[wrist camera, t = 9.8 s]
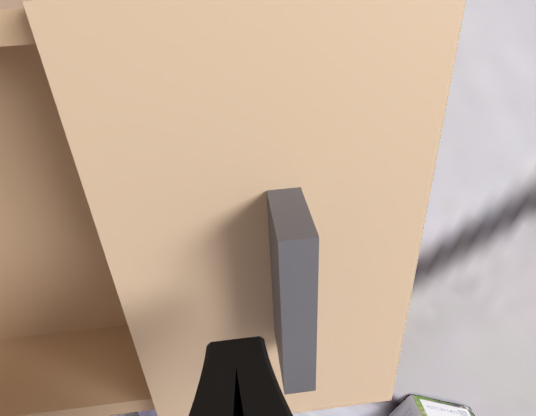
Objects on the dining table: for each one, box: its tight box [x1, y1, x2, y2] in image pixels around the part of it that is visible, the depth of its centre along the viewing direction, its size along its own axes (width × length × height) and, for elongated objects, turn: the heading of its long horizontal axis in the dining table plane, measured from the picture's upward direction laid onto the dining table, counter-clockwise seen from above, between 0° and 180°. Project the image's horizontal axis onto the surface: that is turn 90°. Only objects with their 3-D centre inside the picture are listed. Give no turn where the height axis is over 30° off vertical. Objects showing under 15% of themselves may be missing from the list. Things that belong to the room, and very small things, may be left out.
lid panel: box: [22, 0, 466, 416], centre depth 13 cm, size 16×10×3 cm, turn 3°
